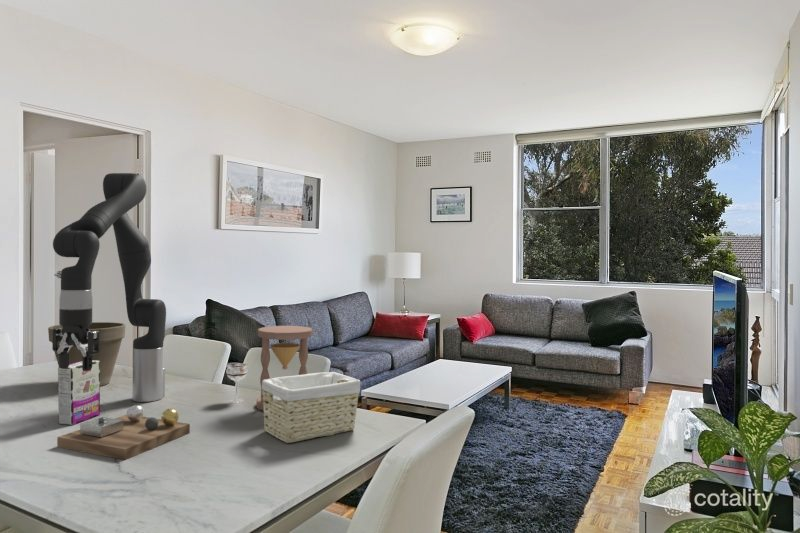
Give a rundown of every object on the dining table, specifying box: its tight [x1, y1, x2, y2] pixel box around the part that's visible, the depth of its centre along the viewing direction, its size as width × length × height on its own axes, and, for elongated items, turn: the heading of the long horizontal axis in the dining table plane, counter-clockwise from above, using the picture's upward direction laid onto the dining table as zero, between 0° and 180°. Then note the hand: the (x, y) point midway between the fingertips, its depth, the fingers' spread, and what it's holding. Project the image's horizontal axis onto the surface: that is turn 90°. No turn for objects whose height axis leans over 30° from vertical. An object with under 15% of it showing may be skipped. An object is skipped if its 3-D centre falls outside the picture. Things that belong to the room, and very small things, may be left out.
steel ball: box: [126, 404, 145, 421], centre depth 157 cm, size 4×4×4 cm
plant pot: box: [47, 321, 126, 387], centre depth 208 cm, size 25×25×22 cm
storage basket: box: [262, 371, 361, 444], centre depth 159 cm, size 24×16×15 cm
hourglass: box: [255, 325, 314, 412], centre depth 185 cm, size 18×18×25 cm
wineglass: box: [226, 362, 248, 404], centre depth 189 cm, size 7×7×12 cm
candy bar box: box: [57, 360, 101, 426], centre depth 165 cm, size 11×5×16 cm, turn 168°
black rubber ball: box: [145, 416, 158, 430], centre depth 150 cm, size 3×3×3 cm
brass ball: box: [161, 408, 180, 426], centre depth 154 cm, size 4×4×4 cm
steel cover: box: [79, 416, 124, 437], centre depth 146 cm, size 7×7×3 cm
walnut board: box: [56, 414, 191, 461], centre depth 149 cm, size 22×22×2 cm
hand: (75, 369), depth 149 cm, fingers open, 7 cm apart
